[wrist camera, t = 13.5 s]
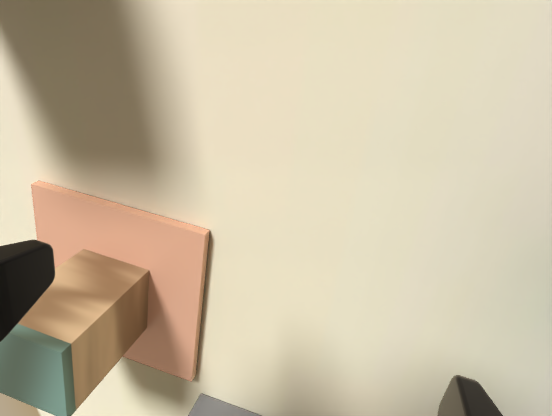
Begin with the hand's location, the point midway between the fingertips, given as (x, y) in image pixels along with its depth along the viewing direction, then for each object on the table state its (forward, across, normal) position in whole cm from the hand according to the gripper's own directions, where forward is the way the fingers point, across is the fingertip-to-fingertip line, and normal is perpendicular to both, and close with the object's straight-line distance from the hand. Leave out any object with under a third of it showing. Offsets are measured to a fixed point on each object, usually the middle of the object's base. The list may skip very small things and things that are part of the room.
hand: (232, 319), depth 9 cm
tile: (+12, +11, +11) cm, 20 cm away
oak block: (+11, +11, +11) cm, 19 cm away
